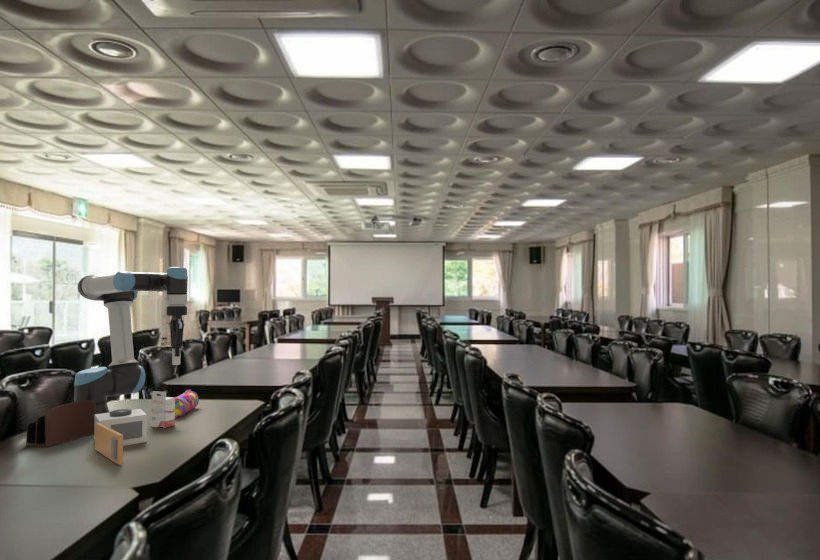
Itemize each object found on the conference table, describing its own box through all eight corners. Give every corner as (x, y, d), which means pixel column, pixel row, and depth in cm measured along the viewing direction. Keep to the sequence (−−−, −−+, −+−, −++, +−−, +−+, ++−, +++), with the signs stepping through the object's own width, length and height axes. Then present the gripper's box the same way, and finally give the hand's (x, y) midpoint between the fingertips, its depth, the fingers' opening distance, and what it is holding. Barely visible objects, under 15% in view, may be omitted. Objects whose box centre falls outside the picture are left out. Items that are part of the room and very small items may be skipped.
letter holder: (96, 433, 194) (96, 397, 195) (45, 448, 175) (46, 408, 176) (77, 432, 197) (77, 396, 198) (25, 446, 178) (26, 406, 179)
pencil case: (179, 408, 239) (179, 389, 239) (199, 407, 240) (199, 389, 240) (163, 419, 217) (164, 398, 218) (186, 418, 219) (186, 397, 219)
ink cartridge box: (175, 425, 205) (175, 390, 205) (165, 428, 200) (166, 392, 201) (160, 424, 208) (160, 388, 209) (150, 426, 203) (150, 391, 204)
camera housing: (94, 441, 182) (94, 411, 183) (139, 434, 192) (140, 405, 192) (98, 449, 172) (99, 417, 172) (146, 441, 181) (147, 411, 182)
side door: (98, 448, 172) (98, 422, 173) (122, 463, 156) (123, 434, 156) (91, 449, 171) (91, 423, 171) (115, 465, 154) (116, 436, 154)
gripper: (162, 305, 201) (162, 363, 200) (170, 305, 191) (170, 367, 190) (182, 305, 205) (182, 362, 204) (191, 305, 195) (190, 365, 194)
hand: (176, 364), depth 197 cm, fingers closed
